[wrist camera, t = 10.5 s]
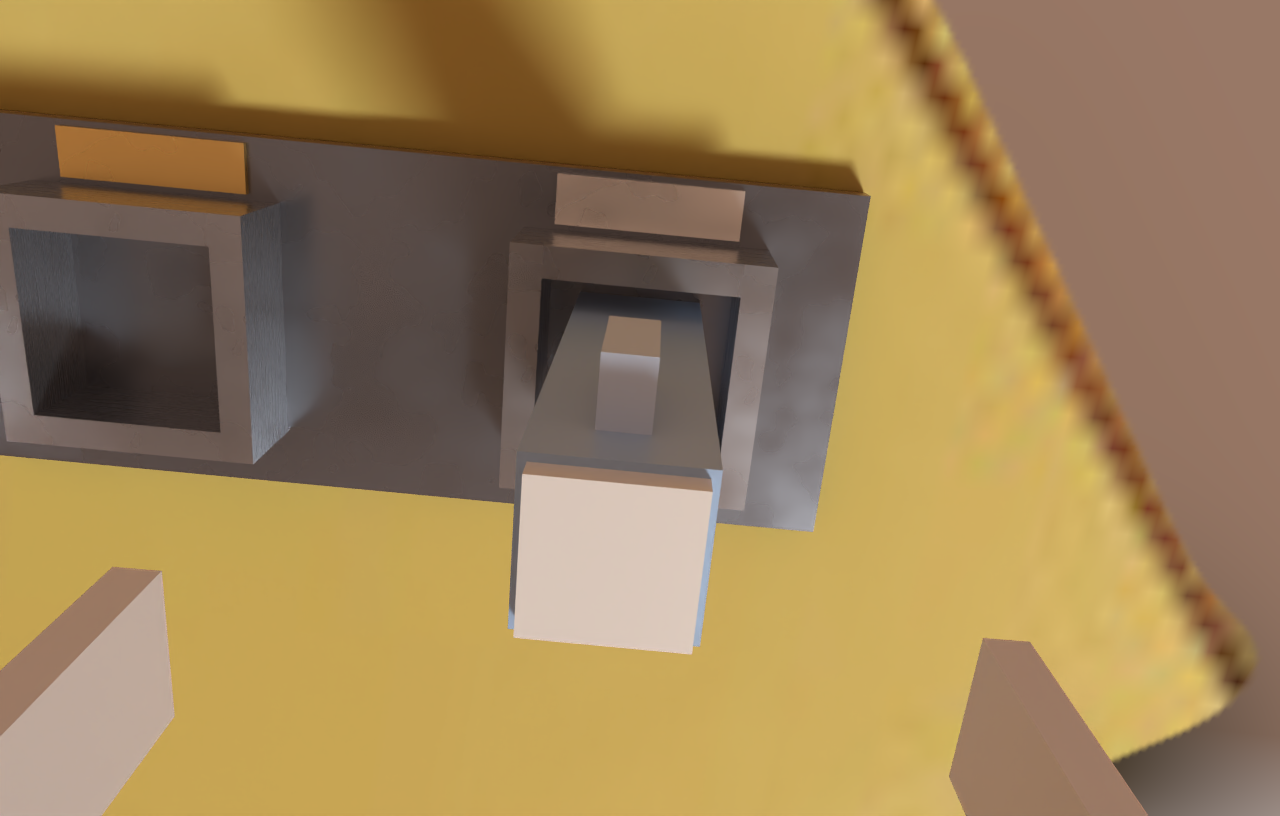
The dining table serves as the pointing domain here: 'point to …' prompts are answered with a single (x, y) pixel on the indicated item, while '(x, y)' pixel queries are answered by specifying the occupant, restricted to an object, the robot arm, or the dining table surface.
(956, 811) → the dining table surface
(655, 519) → the plug
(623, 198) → the panel
